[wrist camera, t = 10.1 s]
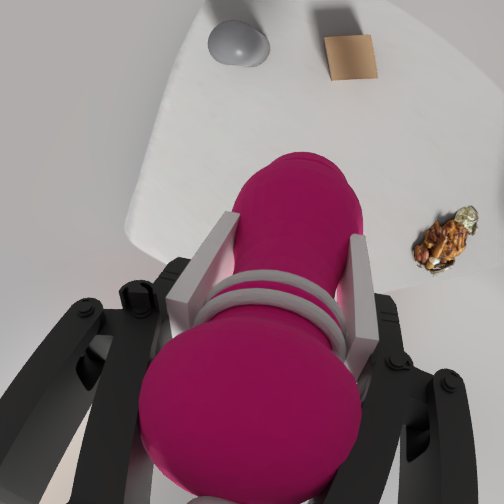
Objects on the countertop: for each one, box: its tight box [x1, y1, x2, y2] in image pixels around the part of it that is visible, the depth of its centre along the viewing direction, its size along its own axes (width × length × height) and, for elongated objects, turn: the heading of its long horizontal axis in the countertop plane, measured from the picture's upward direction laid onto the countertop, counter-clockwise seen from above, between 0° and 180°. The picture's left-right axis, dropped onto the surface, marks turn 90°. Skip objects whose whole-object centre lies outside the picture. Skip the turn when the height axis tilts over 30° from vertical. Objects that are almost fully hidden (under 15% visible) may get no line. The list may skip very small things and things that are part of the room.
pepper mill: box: [139, 152, 363, 504], centre depth 12 cm, size 7×7×20 cm
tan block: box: [324, 35, 378, 81], centre depth 29 cm, size 5×5×5 cm
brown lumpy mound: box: [413, 206, 478, 276], centre depth 38 cm, size 7×12×4 cm, turn 152°
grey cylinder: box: [208, 20, 270, 67], centre depth 29 cm, size 5×5×8 cm
